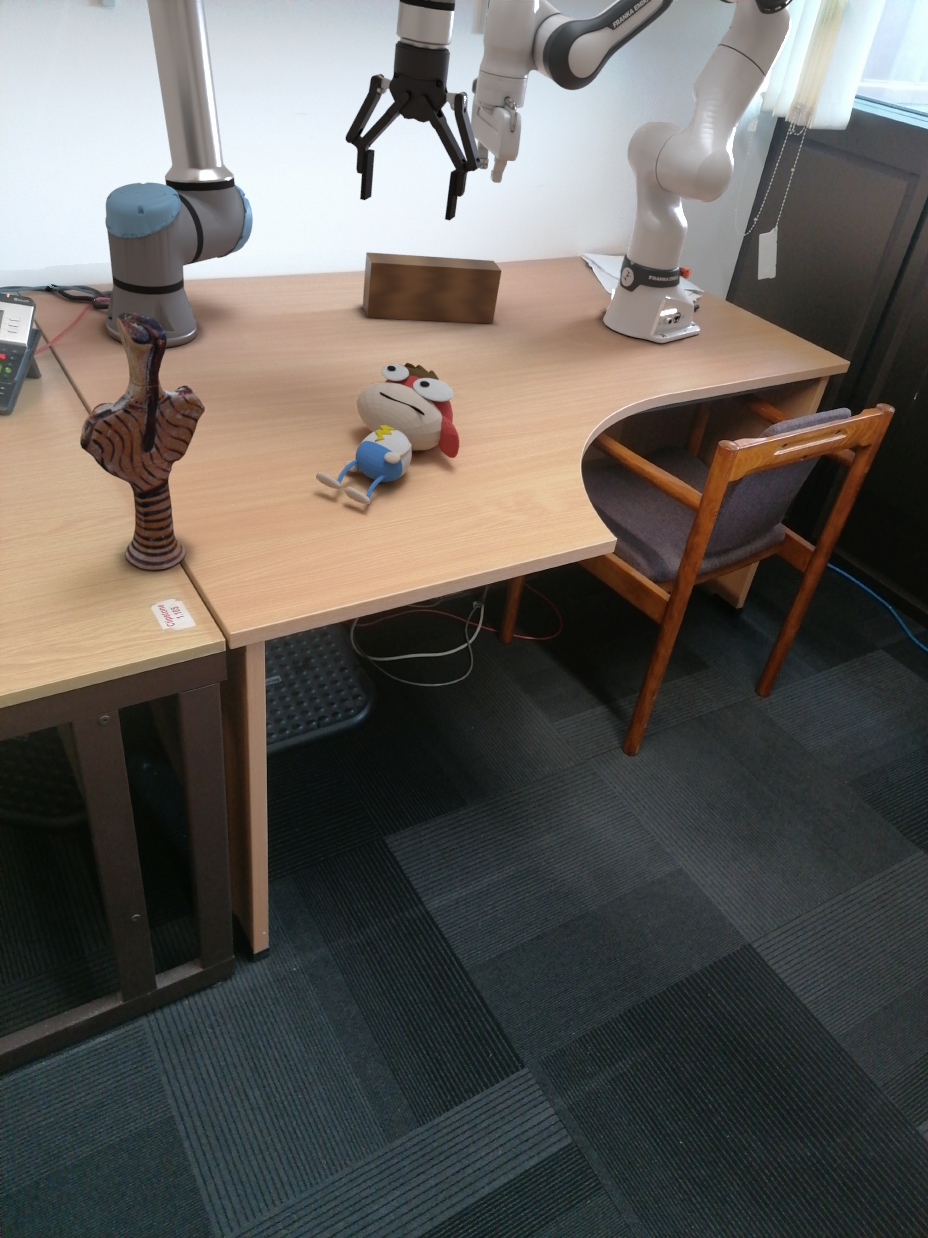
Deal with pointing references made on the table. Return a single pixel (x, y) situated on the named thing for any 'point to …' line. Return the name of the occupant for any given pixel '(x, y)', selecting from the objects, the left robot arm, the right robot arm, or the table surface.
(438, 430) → the toy
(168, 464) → the figurine
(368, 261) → the box
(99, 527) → the table surface
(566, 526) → the table surface
